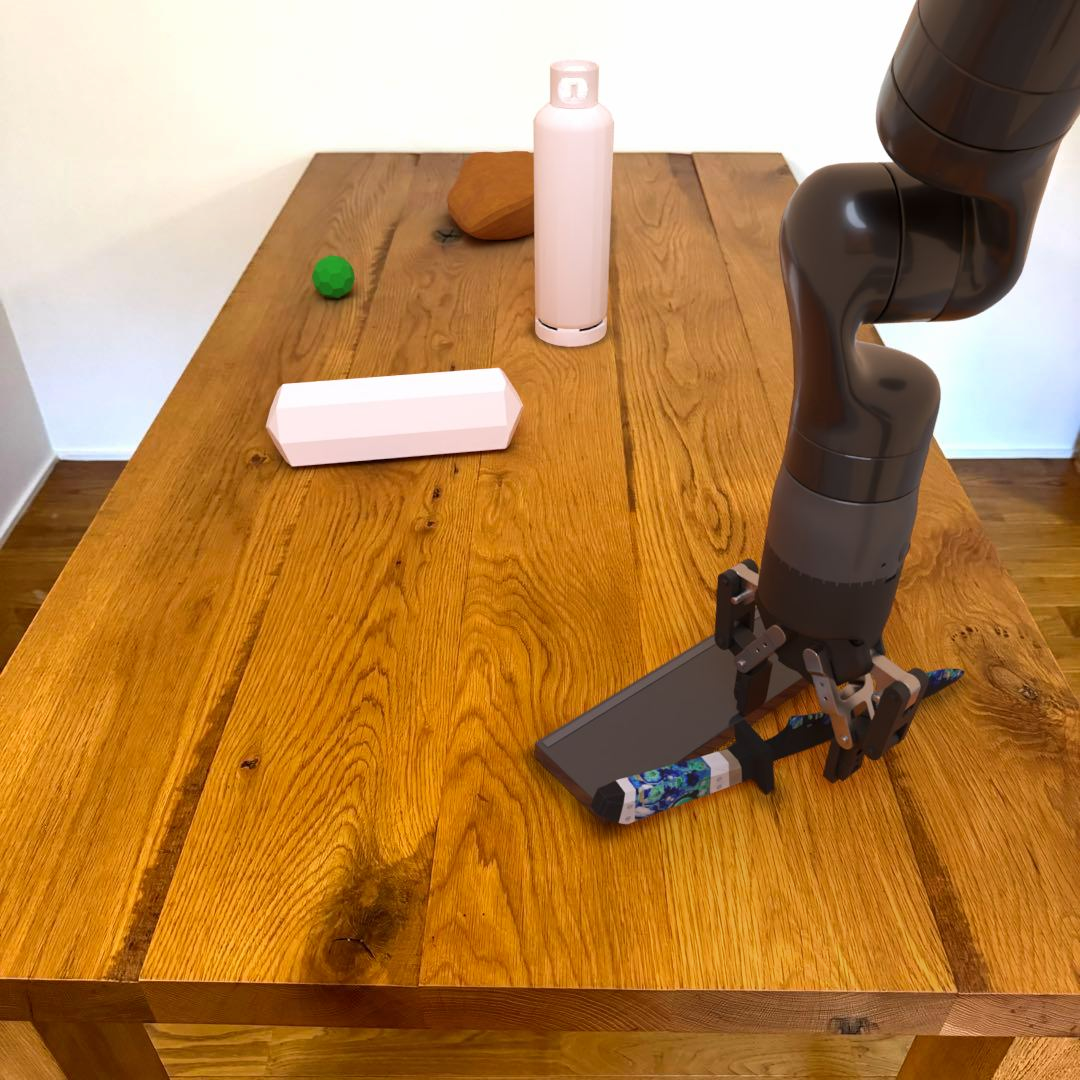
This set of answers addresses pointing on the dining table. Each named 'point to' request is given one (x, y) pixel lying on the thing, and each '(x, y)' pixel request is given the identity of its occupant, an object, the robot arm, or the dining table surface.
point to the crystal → (394, 416)
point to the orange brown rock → (494, 195)
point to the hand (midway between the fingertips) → (792, 739)
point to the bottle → (572, 209)
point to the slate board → (659, 720)
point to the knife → (726, 764)
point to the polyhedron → (333, 276)
